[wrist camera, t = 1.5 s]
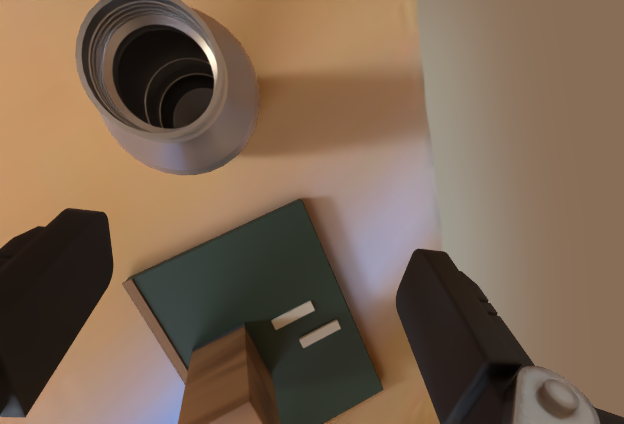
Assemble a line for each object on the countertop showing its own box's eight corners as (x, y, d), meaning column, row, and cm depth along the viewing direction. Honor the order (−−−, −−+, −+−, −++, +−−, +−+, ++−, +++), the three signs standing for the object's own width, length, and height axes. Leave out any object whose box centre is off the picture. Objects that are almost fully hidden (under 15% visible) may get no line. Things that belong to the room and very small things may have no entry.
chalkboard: (125, 278, 29) (121, 283, 28) (299, 198, 31) (302, 200, 30) (239, 461, 34) (239, 472, 33) (379, 383, 37) (384, 390, 35)
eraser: (192, 348, 30) (173, 441, 21) (244, 322, 31) (250, 400, 21) (222, 399, 32) (218, 508, 22) (271, 373, 32) (288, 468, 23)
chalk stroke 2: (298, 338, 32) (299, 340, 32) (336, 318, 33) (337, 320, 33) (302, 346, 33) (303, 348, 32) (340, 327, 33) (340, 328, 33)
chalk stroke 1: (271, 319, 31) (271, 321, 31) (310, 300, 32) (310, 301, 32) (275, 328, 32) (275, 330, 31) (314, 308, 32) (315, 310, 32)
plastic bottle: (173, 168, 28) (47, 213, 9) (157, 81, 27) (-35, -87, 8) (252, 159, 29) (290, 181, 10) (241, 76, 28) (259, -81, 9)
